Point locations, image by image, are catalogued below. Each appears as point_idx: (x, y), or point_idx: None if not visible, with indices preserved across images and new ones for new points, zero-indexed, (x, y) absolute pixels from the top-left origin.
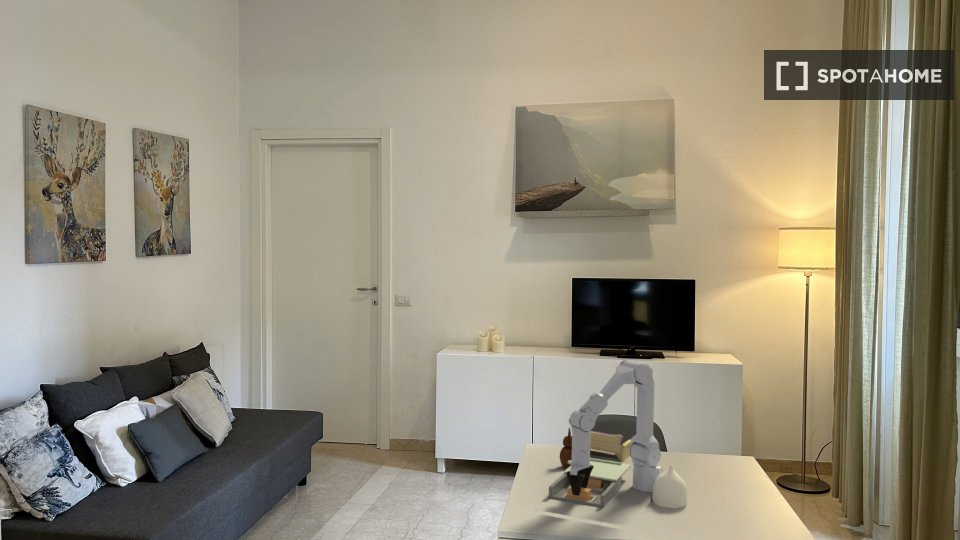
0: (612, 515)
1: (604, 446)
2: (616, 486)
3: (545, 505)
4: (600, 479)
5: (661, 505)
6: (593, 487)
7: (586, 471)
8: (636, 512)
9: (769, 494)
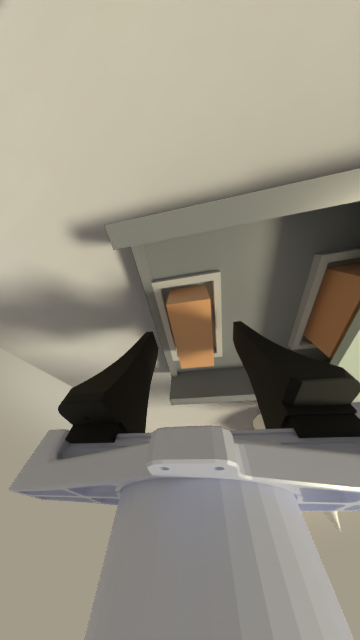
0: (162, 387)
1: None
2: None
3: (87, 245)
4: None
5: (255, 419)
6: (305, 323)
7: (262, 401)
8: (203, 404)
9: None
